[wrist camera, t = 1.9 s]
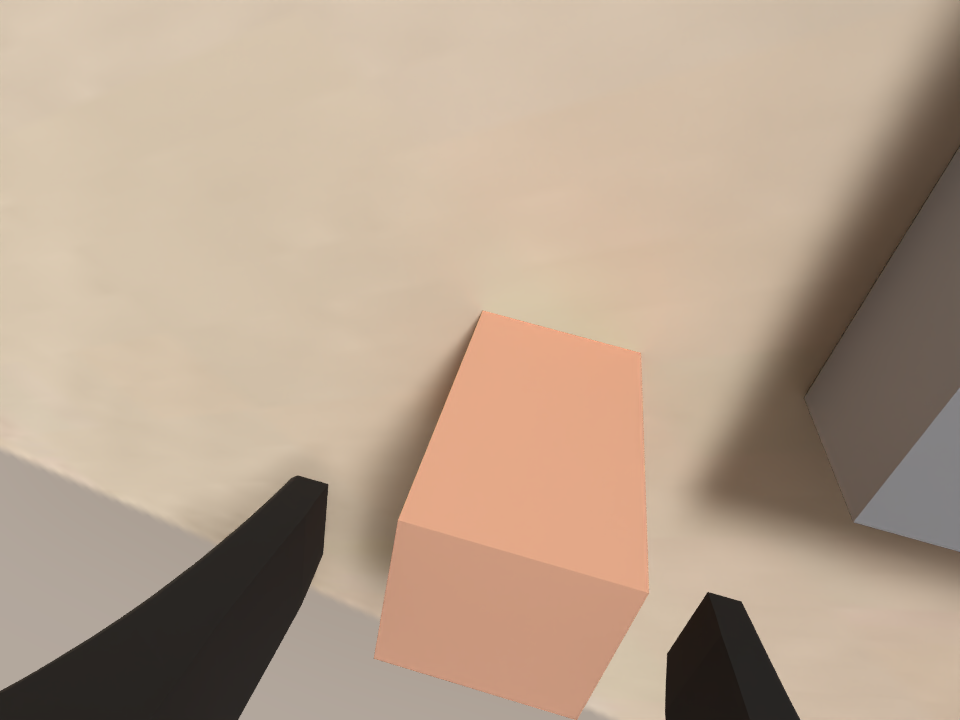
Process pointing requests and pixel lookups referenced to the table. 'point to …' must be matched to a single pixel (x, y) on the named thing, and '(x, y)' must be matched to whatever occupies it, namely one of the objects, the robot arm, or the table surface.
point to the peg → (524, 521)
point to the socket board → (902, 385)
